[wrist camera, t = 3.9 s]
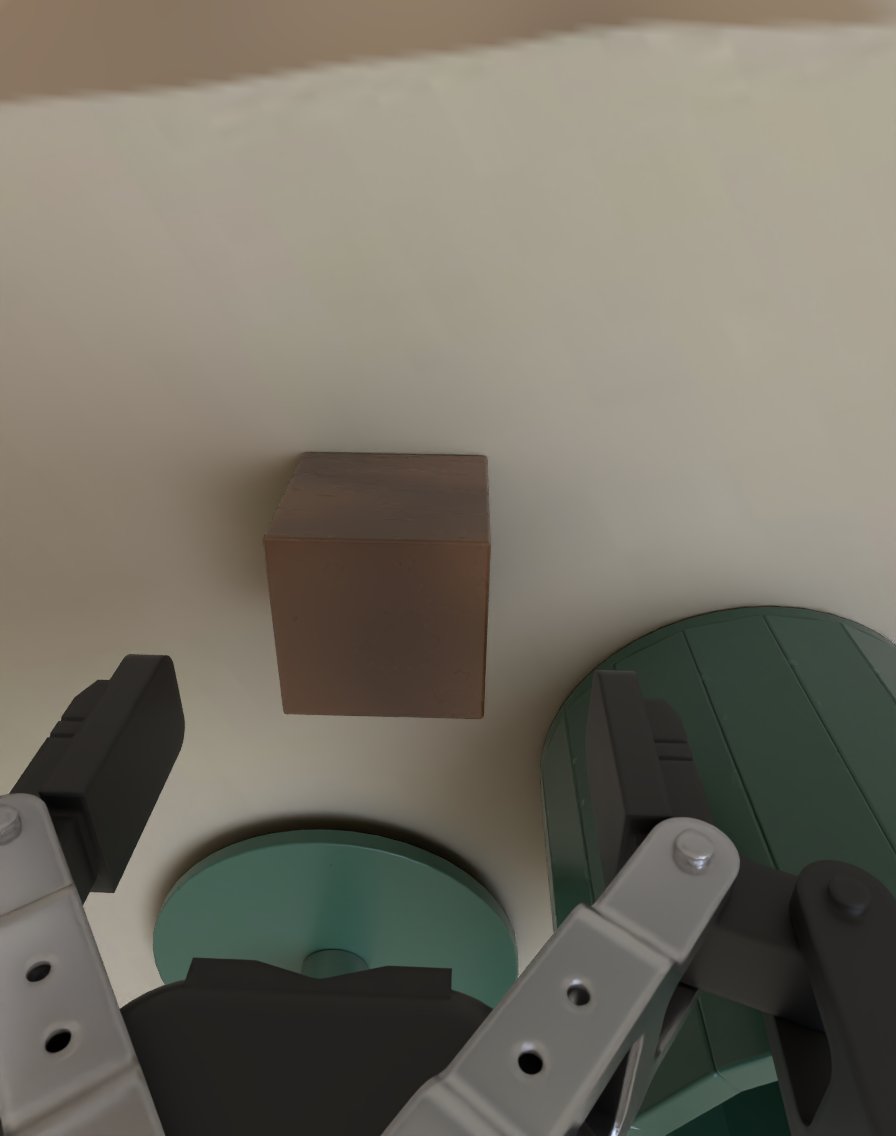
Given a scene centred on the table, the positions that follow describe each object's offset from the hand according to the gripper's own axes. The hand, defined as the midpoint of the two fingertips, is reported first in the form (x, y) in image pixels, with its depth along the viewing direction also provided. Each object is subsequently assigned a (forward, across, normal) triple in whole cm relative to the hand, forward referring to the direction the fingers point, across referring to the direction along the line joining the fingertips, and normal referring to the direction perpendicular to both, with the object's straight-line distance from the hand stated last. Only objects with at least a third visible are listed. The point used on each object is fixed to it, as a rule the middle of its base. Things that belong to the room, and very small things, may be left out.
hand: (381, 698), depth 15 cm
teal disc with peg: (+6, +3, +17) cm, 18 cm away
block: (+7, 0, 0) cm, 7 cm away
